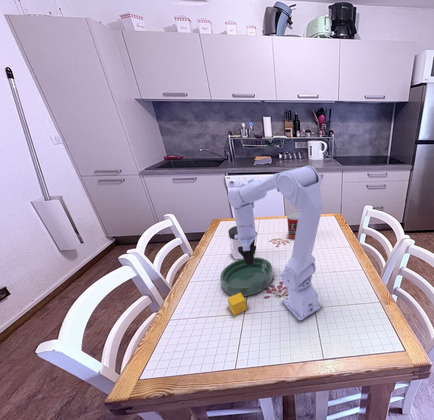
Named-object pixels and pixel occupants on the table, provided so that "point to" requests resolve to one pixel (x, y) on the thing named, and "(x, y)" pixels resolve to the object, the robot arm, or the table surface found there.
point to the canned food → (292, 224)
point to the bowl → (246, 277)
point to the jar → (234, 243)
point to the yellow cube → (237, 304)
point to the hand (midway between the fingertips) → (250, 257)
